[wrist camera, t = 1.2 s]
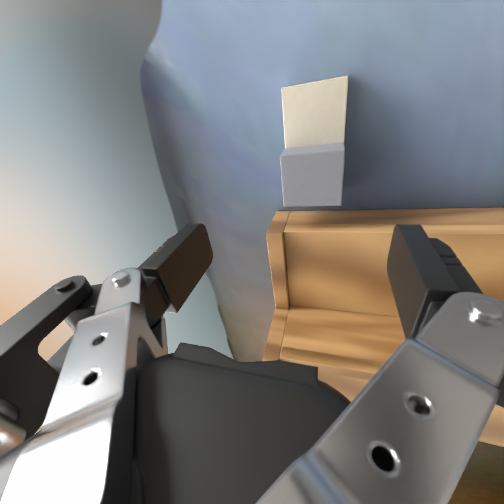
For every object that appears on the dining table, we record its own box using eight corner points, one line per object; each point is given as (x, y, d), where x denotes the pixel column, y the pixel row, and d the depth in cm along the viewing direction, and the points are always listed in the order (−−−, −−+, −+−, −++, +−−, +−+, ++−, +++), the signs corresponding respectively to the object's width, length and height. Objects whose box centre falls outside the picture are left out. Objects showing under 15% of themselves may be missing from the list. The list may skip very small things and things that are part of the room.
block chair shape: (284, 87, 18) (274, 88, 15) (347, 75, 16) (350, 74, 13) (290, 191, 22) (283, 207, 19) (340, 188, 21) (341, 205, 18)
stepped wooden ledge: (276, 211, 23) (244, 281, 15) (608, 205, 16) (890, 333, 8) (286, 318, 32) (270, 400, 24) (505, 345, 25) (590, 475, 17)
